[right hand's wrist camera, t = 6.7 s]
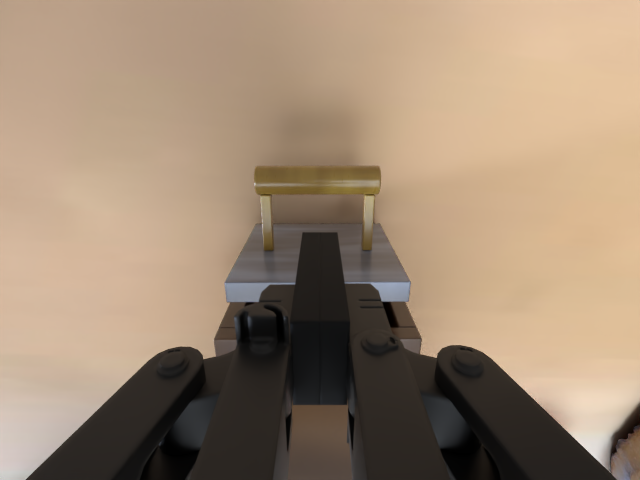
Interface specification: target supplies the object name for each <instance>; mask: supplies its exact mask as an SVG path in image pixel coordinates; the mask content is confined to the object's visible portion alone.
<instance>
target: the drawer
mask: <svg viewBox="0 0 640 480" xmlns="http://www.w3.org/2000/svg"><path fill="white" fill-rule="evenodd" d="M254 185H255V191H256V193H257V194H258V195H260V199H261V214H262V224H256V225H255V227H254V229H253V231H252V233H251V234H250V236H249V238H248V240H247V242H246V244H245V246H244V247H243V249H242V251H241V253H240V255H239V257H238V259H237V261H236V262H235V264H234V266H233V268H232V270H231V272H230V274H229V275H228V277H227V279H226V281H225V291H226V299H227V302H255V303H258V302H259V298H260V295H261V292H262V291H263V290H264V289H265V288H266V287H268V286H269V285H270V284H295V282H296V275H297V267H298V260H299V253H300V246H301V239H302V232H338V239H339V246H340V253H341V260H342V268H343V275H344V282H345V283H370V284H371V285H373V286H374V287H375V288H376V289H377V290H378V291H379V294H380V297H381V301H382V302H408V301H409V293H410V284H411V282H410V280H409V278H408V276H407V274H406V272H405V270H404V269H403V267H402V265H401V263H400V261H399V259H398V257H397V255H396V253H395V251H394V250H393V248H392V246H391V244H390V242H389V240H388V238H387V236H386V234H385V233H384V231H383V229H382V227H381V225H380V224H373V220H374V203H375V195H374V194H378V193H379V191H380V186H381V171H380V167H379V166H256V168H255V172H254ZM294 194H364V203H363V224H273V213H272V195H294Z"/></svg>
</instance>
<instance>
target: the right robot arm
mask: <svg viewBox="0 0 640 480" xmlns="http://www.w3.org/2000/svg"><path fill="white" fill-rule="evenodd" d="M234 322H235V332H236V341H237V346H236V349H235V350H234V351H231V352H229V353H227V354H224V355H221V356H217V357H212V358H208V359H203V355H202V354H201V353H200V352H199V351H198V350H197V349H194V348H191V347H176V348H171V349H168V350H165V351H163V352H161V353H159V354H157V355H156V356H154V357H153V358H152V359H150V360H149V361H148V362H147V363H146V364H145V365H144V366H143V367H142V368H141V369H140V370H138V371H137V372H136V373H135V374H134V375H133V376H132V377H131V378H130V379H129V380H128V381H127V382H126V383H125V384H124V385H123V386H122V387H121V388H120V389H119V390H118V391H117V392H116V393H115V394H114V395H113V396H112V397H111V398H110V399H109V400H108V401H106V402H105V403H104V404H103V405H102V406H101V407H100V408H99V409H98V410H97V411H96V412H95V413H94V414H93V415H92V416H91V417H90V418H89V419H88V420H87V421H86V422H85V423H84V424H83V425H82V426H81V427H80V428H79V429H78V430H77V431H75V432H74V433H73V434H72V435H71V436H70V437H69V438H68V439H67V440H66V441H65V442H64V443H63V444H62V445H61V446H60V447H59V448H58V449H57V450H56V451H55V452H54V453H53V454H52V455H51V456H50V457H49V458H48V459H47V460H46V461H45V462H43V463H42V464H41V465H40V466H39V467H38V468H37V469H36V470H35V471H34V472H33V473H32V474H31V475H30V476H29V477H28V478H27V479H26V480H288V469H289V458H290V446H291V434H292V402H293V405H347V400H348V422H347V443H349V445H350V457H351V469H352V480H617V479H616V478H615V477H614V476H613V475H612V474H611V473H610V472H609V471H608V470H606V469H605V468H604V467H603V466H602V465H601V464H600V463H599V462H598V461H597V460H596V459H595V458H594V457H593V456H592V455H591V454H590V453H589V452H588V451H587V450H586V449H585V448H584V447H583V446H582V445H580V444H579V443H578V442H577V441H576V440H575V439H574V438H573V437H572V436H571V435H570V434H569V433H568V432H567V431H566V430H565V429H564V428H563V427H562V426H561V425H560V424H559V423H558V422H557V421H556V420H554V419H553V418H552V417H551V416H550V415H549V414H548V413H547V412H546V411H545V410H544V409H543V408H542V407H541V406H540V405H539V404H538V403H537V402H536V401H535V400H534V399H533V398H532V397H531V396H530V395H528V394H527V393H526V392H525V391H524V390H523V389H522V388H521V387H520V386H519V385H518V384H517V383H516V382H515V381H514V380H513V379H512V378H511V377H510V376H509V375H508V374H507V373H506V372H505V371H503V370H502V369H501V368H500V367H499V366H498V365H497V364H496V363H495V362H494V361H493V360H492V359H491V358H489V357H488V356H487V355H485V354H484V353H483V352H481V351H478V350H476V349H474V348H471V347H466V346H461V345H452V346H448V347H445V348H442V349H441V350H440V352H439V353H438V355H437V358H434V357H429V356H425V355H421V354H417V353H414V352H411V351H409V350H407V349H405V348H404V345H403V343H402V342H401V340H400V339H399V338H398V337H397V336H396V335H394V334H393V333H392V331H391V328H390V325H389V322H388V319H387V315H386V312H385V309H384V306H383V303H382V301H381V297H380V294H379V291H378V290H377V289H376V288H375V287H374V286H373V285H371V284H370V283H345V282H344V275H343V268H342V260H341V253H340V246H339V239H338V232H302V239H301V246H300V253H299V260H298V267H297V275H296V282H295V284H270V285H269V286H268V287H266V288H265V289H264V290H263V291H262V292H261V295H260V298H259V302H258V303H254V304H251V305H248V306H245V307H244V308H242V309H240V310H239V311H238V312H237V313H236V314H235V316H234Z"/></svg>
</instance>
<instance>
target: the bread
mask: <svg viewBox="0 0 640 480" xmlns="http://www.w3.org/2000/svg"><path fill="white" fill-rule="evenodd" d="M616 450H617V453H614V454H613V453H612V457H611V472H612V475H613V476H614V477H615V478H616V479H617V480H640V425H637V426H634V433H632V434H629V433H628V439H619V440H618V443H617V445H616Z"/></svg>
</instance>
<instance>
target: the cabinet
mask: <svg viewBox="0 0 640 480" xmlns="http://www.w3.org/2000/svg"><path fill="white" fill-rule="evenodd" d="M254 303H255V302H230V304H229V307H228V309H227V311H226V313H225V315H224V318H223V320H222V322H221V324H220V326H219V329H218V331H217V334H216V336H215V338H214V345H215V352H216V357H217V356H221V355H224V354H227V353H229V352H231V351H234V350H235V349H236V346H237V341H236V332H235V322H234V316H235V314H236V313H237V312H238V311H239V310H240V309H242V308H244V307H245V306H248V305H251V304H254ZM382 303H383V306H384V309H385V312H386V315H387V319H388V322H389V325H390V328H391V331H392V333H393V334H394V335H396V336H397V337H398V338H399V339H400V340H401V342H402V343H403V345H404V348H405V349H407V350H409V351H411V352H414V353H417V354H420V349H421V341H422V338H421V336H420V334H419V332H418V329H417V328H416V325H415V323H414V321H413V318H412V316H411V314H410V312H409V309H408V307H407V305H406V303H405V302H382ZM347 422H348V400H347V405H293V402H292V434H291V446H290V458H289V469H288V480H352V469H351V457H350V445H349V443H347Z"/></svg>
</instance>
